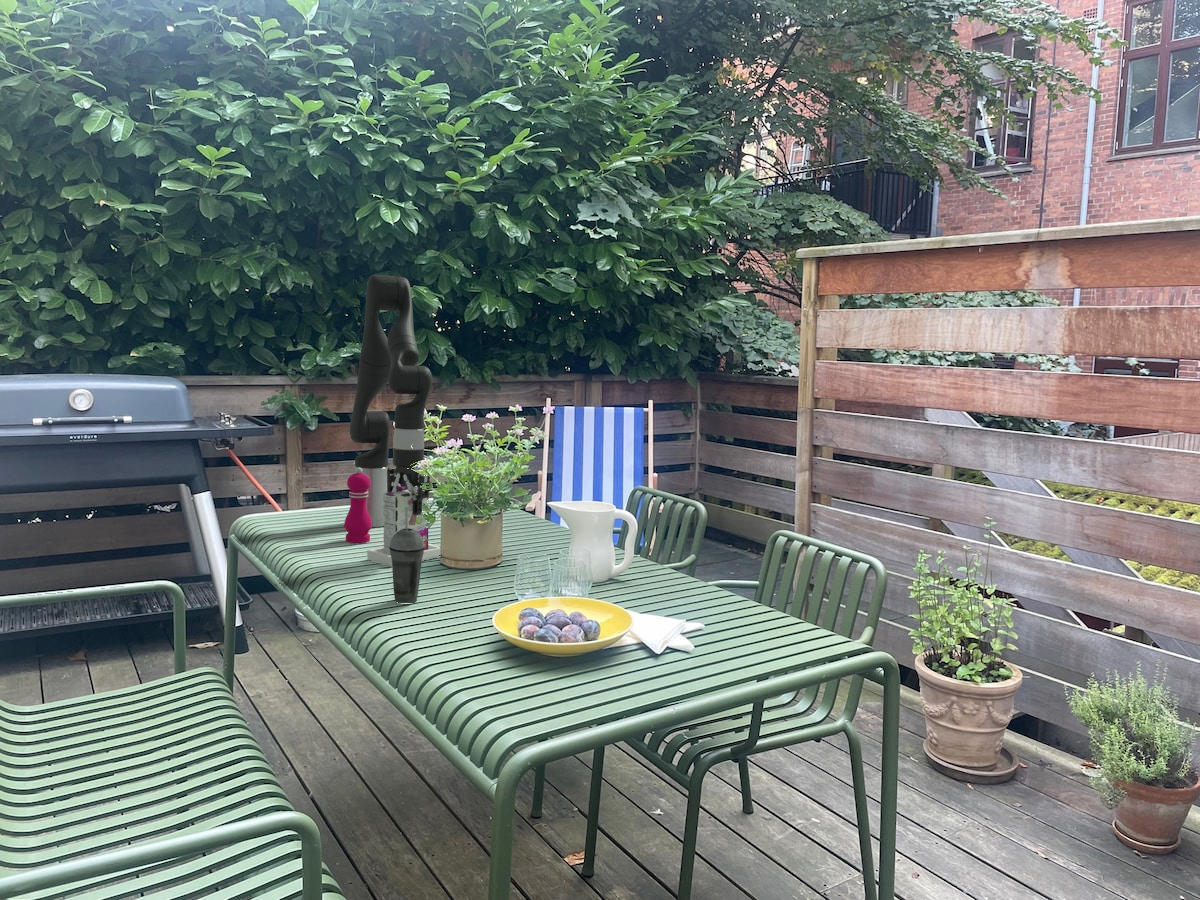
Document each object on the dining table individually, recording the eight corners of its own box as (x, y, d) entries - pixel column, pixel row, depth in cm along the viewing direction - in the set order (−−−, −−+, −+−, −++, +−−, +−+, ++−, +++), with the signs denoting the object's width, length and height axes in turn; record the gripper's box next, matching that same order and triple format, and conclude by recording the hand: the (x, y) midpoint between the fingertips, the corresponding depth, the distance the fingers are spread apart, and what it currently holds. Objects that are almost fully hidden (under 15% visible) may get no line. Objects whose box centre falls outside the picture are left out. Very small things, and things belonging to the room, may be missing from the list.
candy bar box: (414, 550, 227) (415, 487, 226) (428, 553, 225) (430, 490, 223) (381, 558, 218) (382, 492, 216) (396, 561, 215) (397, 495, 214)
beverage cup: (392, 608, 181) (395, 512, 178) (384, 598, 187) (386, 505, 185) (427, 604, 184) (430, 510, 182) (417, 595, 190) (420, 504, 188)
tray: (367, 559, 218) (367, 550, 218) (418, 549, 231) (418, 540, 230) (392, 567, 212) (392, 557, 212) (443, 557, 224) (444, 547, 224)
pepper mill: (367, 544, 234) (368, 470, 231) (340, 543, 234) (341, 468, 231) (374, 538, 241) (376, 466, 238) (348, 537, 241) (349, 464, 239)
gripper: (439, 448, 216) (437, 515, 218) (402, 442, 225) (401, 506, 227) (415, 450, 211) (413, 518, 213) (378, 444, 220) (377, 509, 222)
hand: (407, 512), depth 220 cm, fingers open, 7 cm apart
